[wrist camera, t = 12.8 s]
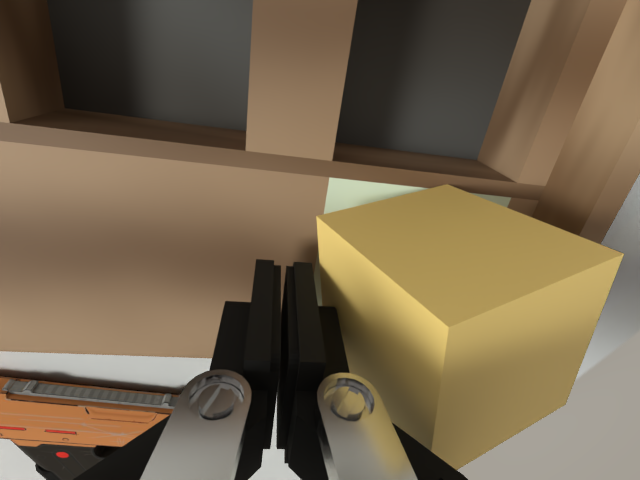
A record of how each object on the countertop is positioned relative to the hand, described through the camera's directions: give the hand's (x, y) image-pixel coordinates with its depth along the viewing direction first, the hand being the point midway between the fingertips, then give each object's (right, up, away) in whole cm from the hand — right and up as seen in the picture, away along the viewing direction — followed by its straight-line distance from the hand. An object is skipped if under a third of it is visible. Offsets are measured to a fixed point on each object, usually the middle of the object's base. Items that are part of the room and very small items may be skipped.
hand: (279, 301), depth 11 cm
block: (+3, +1, 0) cm, 3 cm away
